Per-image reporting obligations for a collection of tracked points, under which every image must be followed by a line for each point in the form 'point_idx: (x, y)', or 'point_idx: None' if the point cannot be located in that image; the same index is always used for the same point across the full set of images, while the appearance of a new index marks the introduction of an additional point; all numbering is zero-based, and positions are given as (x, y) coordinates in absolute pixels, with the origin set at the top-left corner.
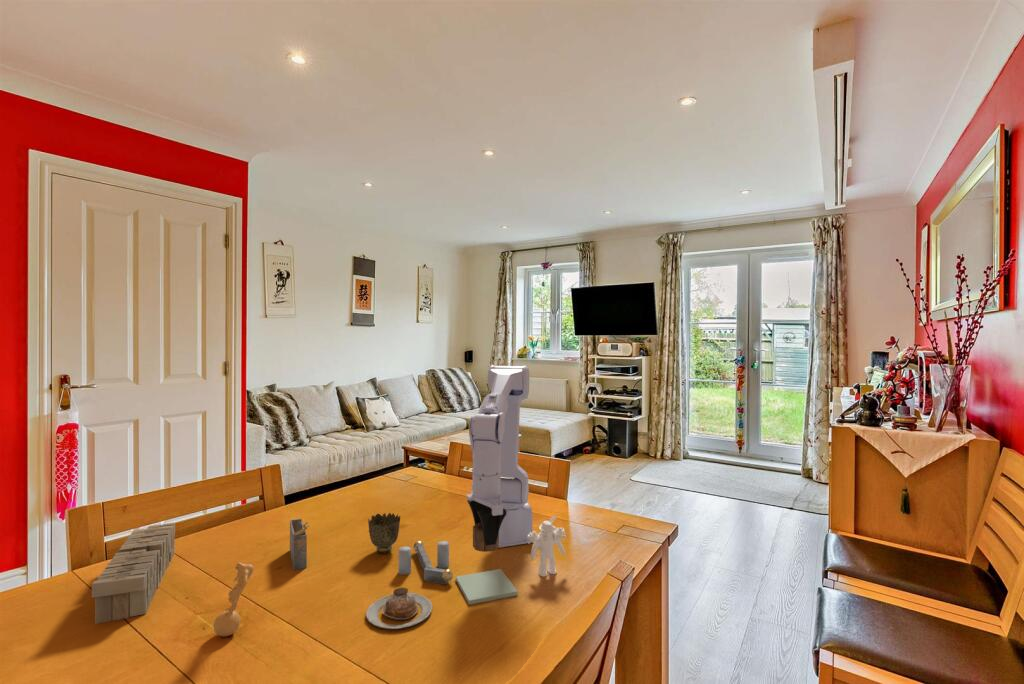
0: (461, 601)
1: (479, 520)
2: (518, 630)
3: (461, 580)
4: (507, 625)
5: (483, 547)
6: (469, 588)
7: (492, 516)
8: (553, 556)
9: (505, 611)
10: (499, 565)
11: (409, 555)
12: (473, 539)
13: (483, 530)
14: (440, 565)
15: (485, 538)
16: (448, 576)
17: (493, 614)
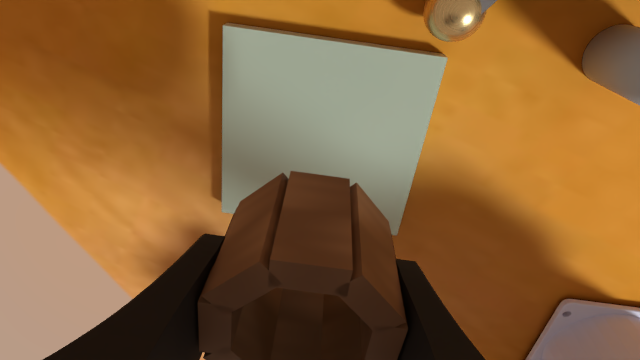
0: (266, 3)
1: (412, 355)
2: (18, 110)
3: (399, 66)
4: (53, 92)
5: (236, 215)
6: (316, 69)
7: None
8: None
9: (140, 125)
10: (446, 245)
11: None
12: (333, 205)
13: (158, 300)
14: (607, 34)
15: (178, 262)
16: (428, 7)
17: (132, 80)
